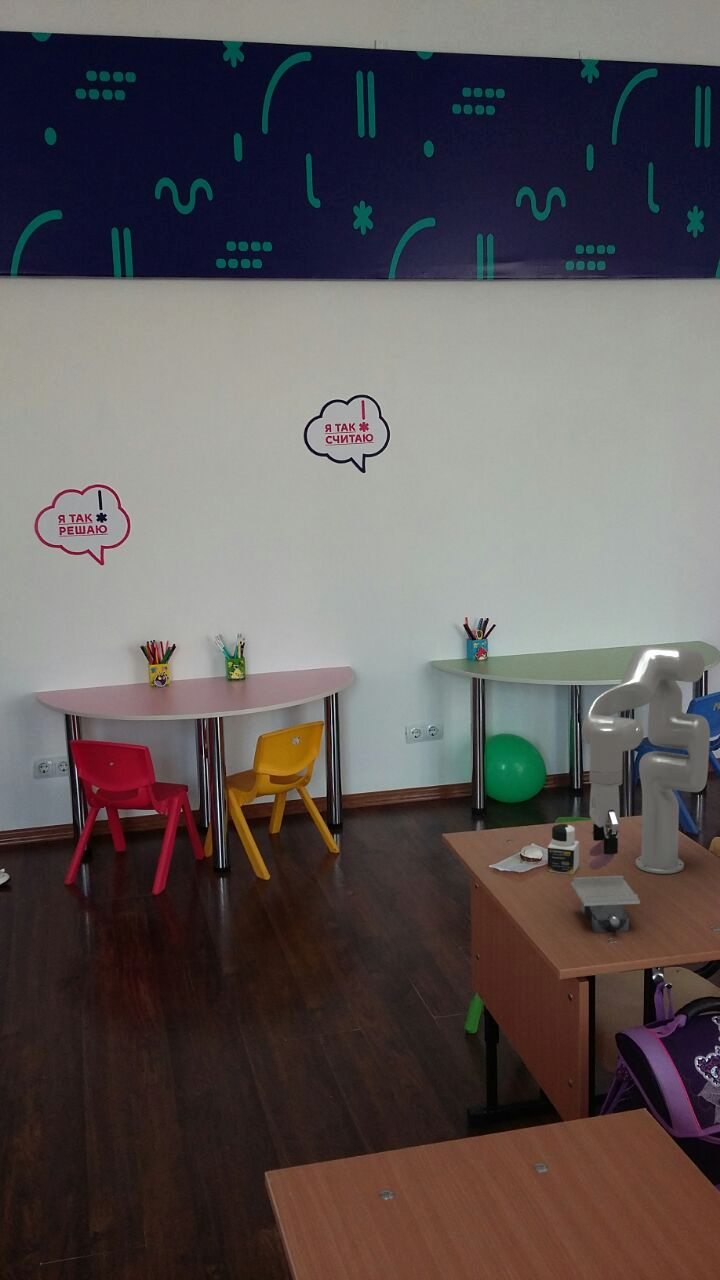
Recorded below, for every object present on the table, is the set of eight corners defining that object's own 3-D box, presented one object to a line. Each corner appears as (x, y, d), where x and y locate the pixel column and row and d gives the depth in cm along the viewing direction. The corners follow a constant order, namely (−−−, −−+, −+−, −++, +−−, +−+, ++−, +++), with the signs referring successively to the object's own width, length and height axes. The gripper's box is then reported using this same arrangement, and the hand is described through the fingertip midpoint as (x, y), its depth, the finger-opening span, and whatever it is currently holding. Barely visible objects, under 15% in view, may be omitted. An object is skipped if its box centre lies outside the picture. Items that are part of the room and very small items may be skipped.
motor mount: (571, 910, 271) (571, 877, 270) (623, 908, 272) (624, 875, 271) (587, 938, 256) (587, 902, 254) (643, 935, 256) (643, 900, 255)
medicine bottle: (547, 871, 298) (547, 828, 296) (553, 862, 304) (553, 820, 303) (573, 874, 295) (574, 831, 293) (579, 865, 302) (579, 823, 300)
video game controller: (605, 877, 259) (620, 853, 257) (587, 868, 259) (602, 843, 257) (604, 861, 268) (618, 838, 267) (587, 852, 269) (601, 828, 267)
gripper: (581, 767, 268) (580, 835, 271) (599, 787, 251) (598, 860, 254) (611, 766, 269) (611, 834, 271) (632, 786, 251) (631, 858, 254)
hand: (605, 846), depth 262 cm, fingers closed on video game controller, 9 cm apart
